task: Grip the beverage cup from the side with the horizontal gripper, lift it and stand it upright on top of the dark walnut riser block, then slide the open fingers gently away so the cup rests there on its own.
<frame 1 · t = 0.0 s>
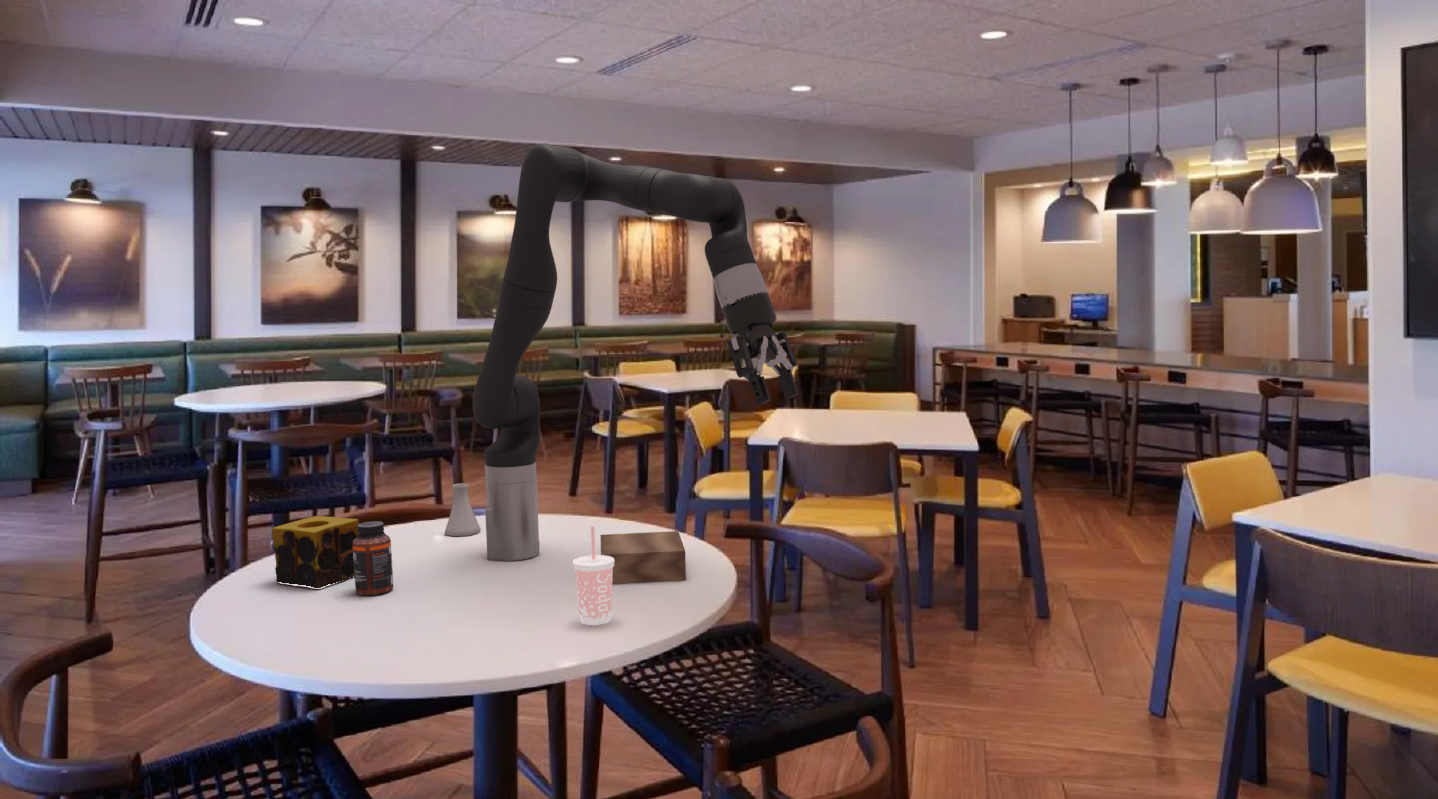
hand: (778, 399, 150), 31 cm above the table, tool tilted 20°, fingers open, 8 cm apart
beverage cup: (595, 621, 146), on the table
yellow tissue box cover: (320, 581, 170), on the table
flask: (462, 534, 202), on the table
supplement bottle: (374, 592, 163), on the table
walnut riser block: (642, 570, 172), on the table
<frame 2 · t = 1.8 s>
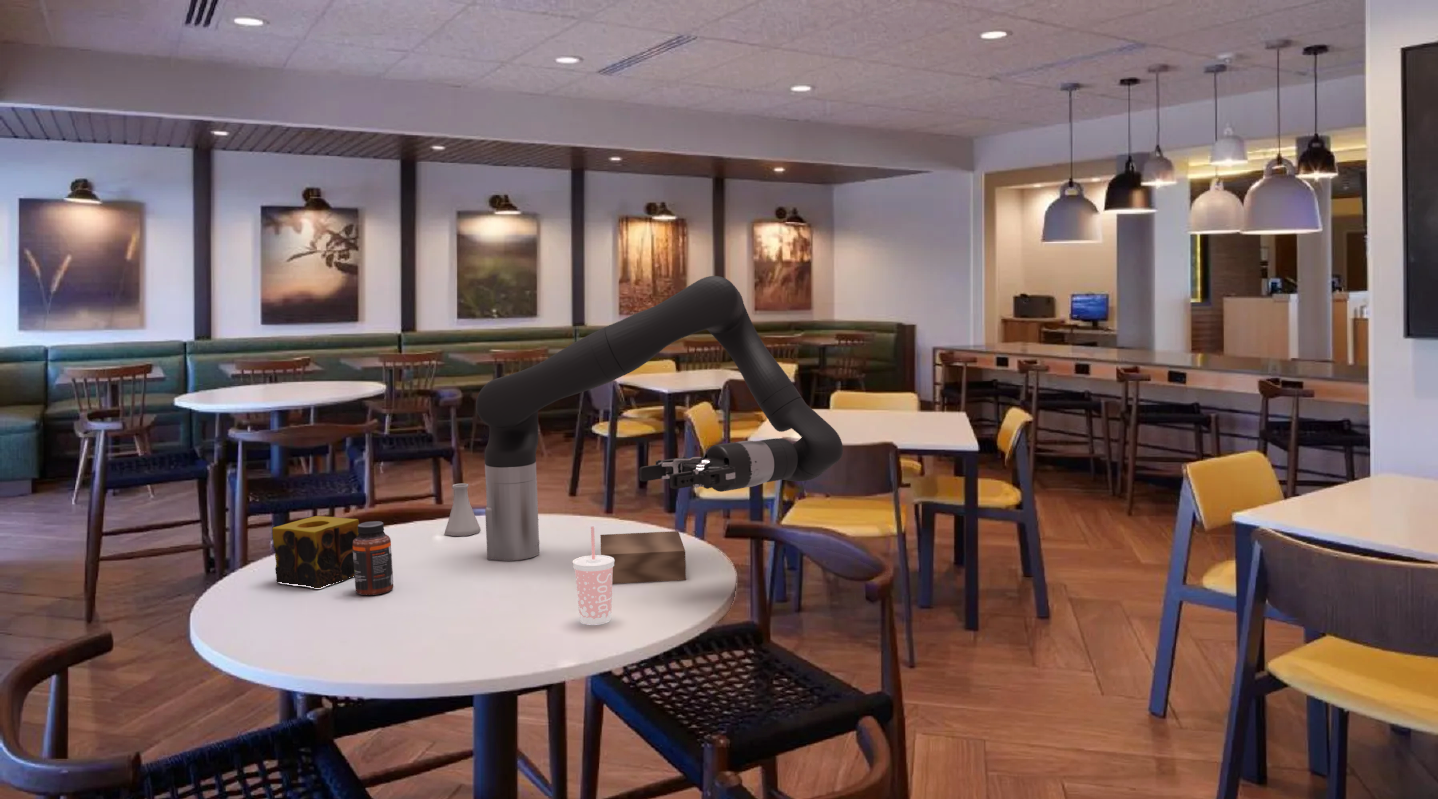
hand: (655, 478, 151), 20 cm above the table, tool horizontal, fingers open, 8 cm apart
nothing on the table moved.
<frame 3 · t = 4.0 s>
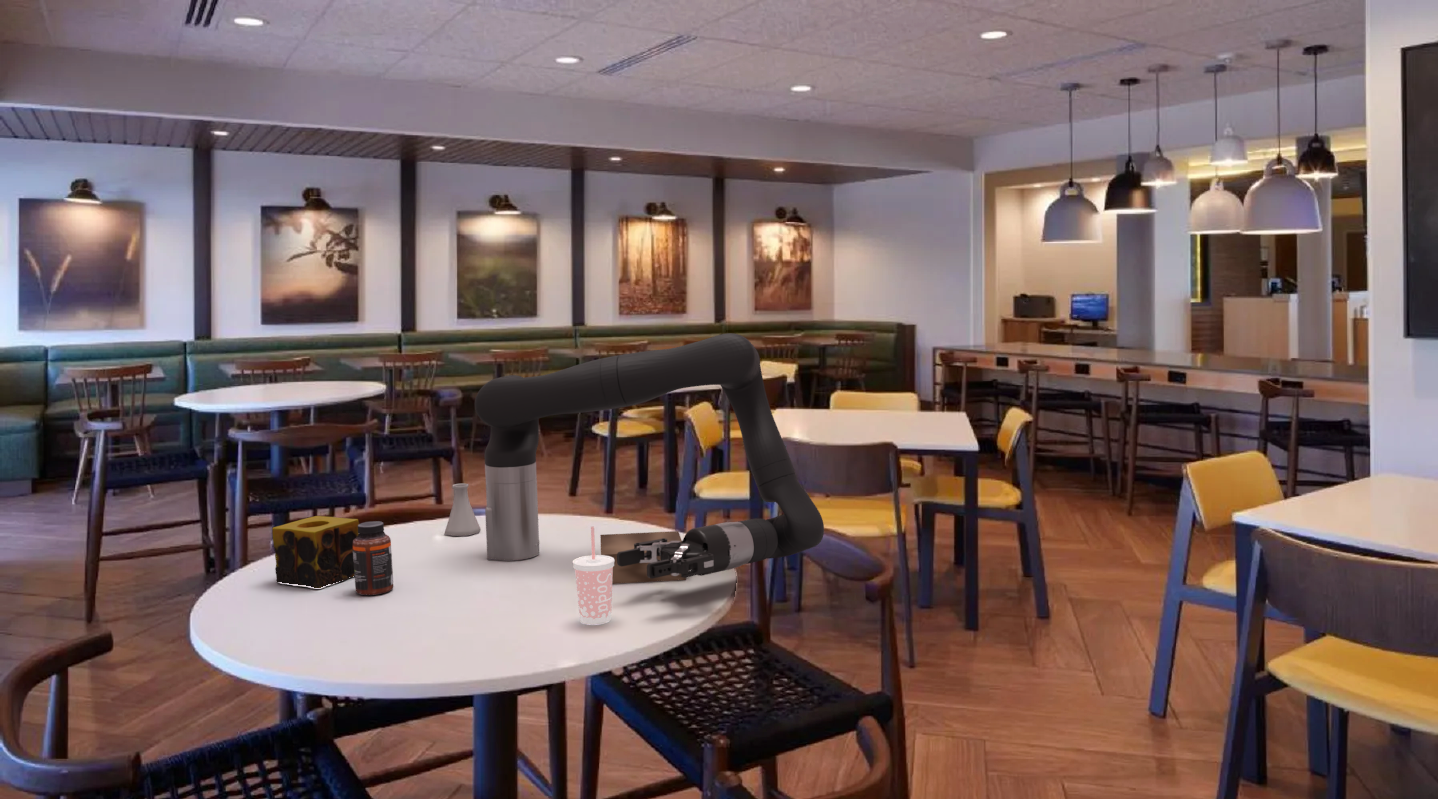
hand: (632, 565, 149), 7 cm above the table, tool horizontal, fingers open, 8 cm apart
nothing on the table moved.
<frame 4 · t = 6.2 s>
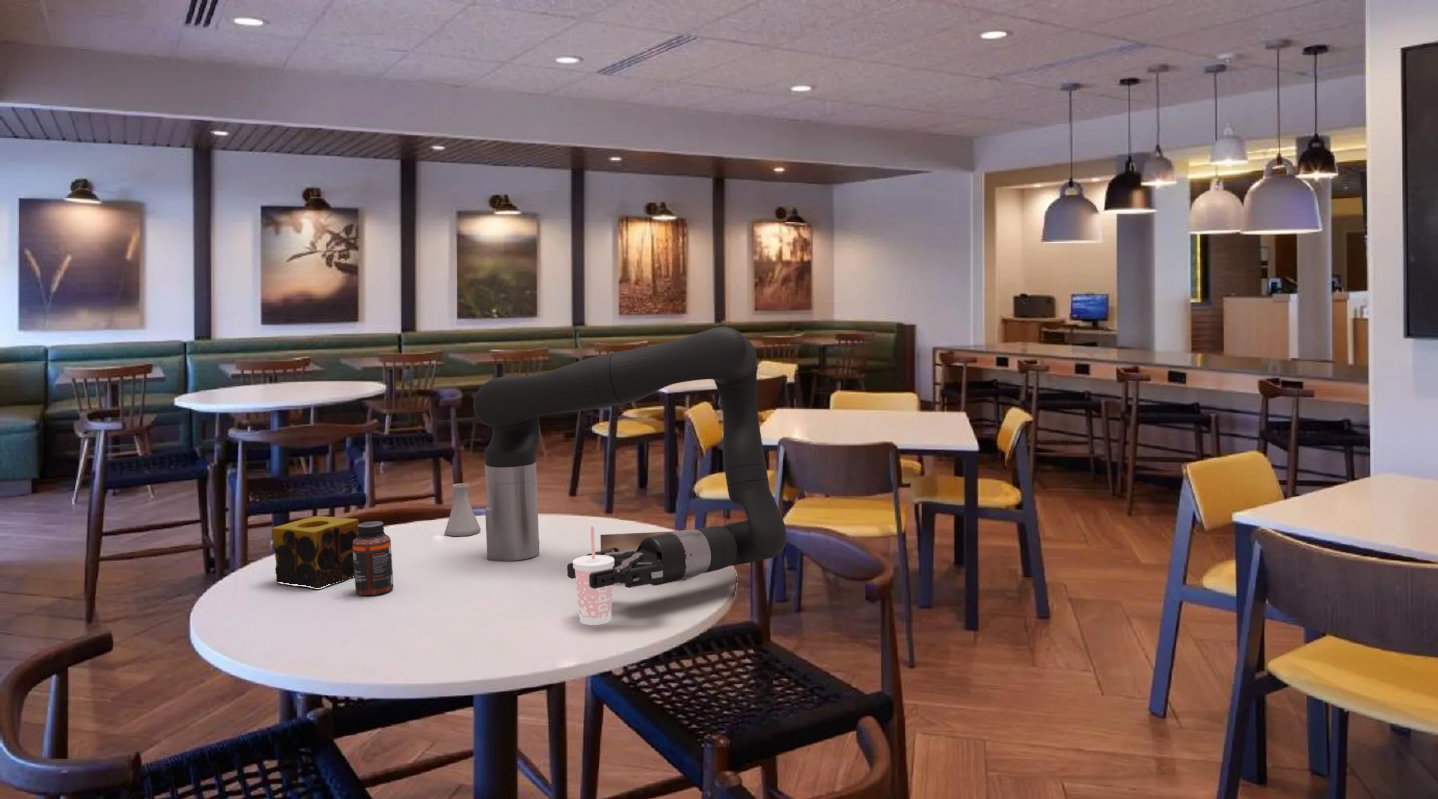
hand: (579, 576, 144), 7 cm above the table, tool horizontal, fingers closed on beverage cup, 6 cm apart
beverage cup: (595, 621, 146), on the table, touching gripper
everything else where it was.
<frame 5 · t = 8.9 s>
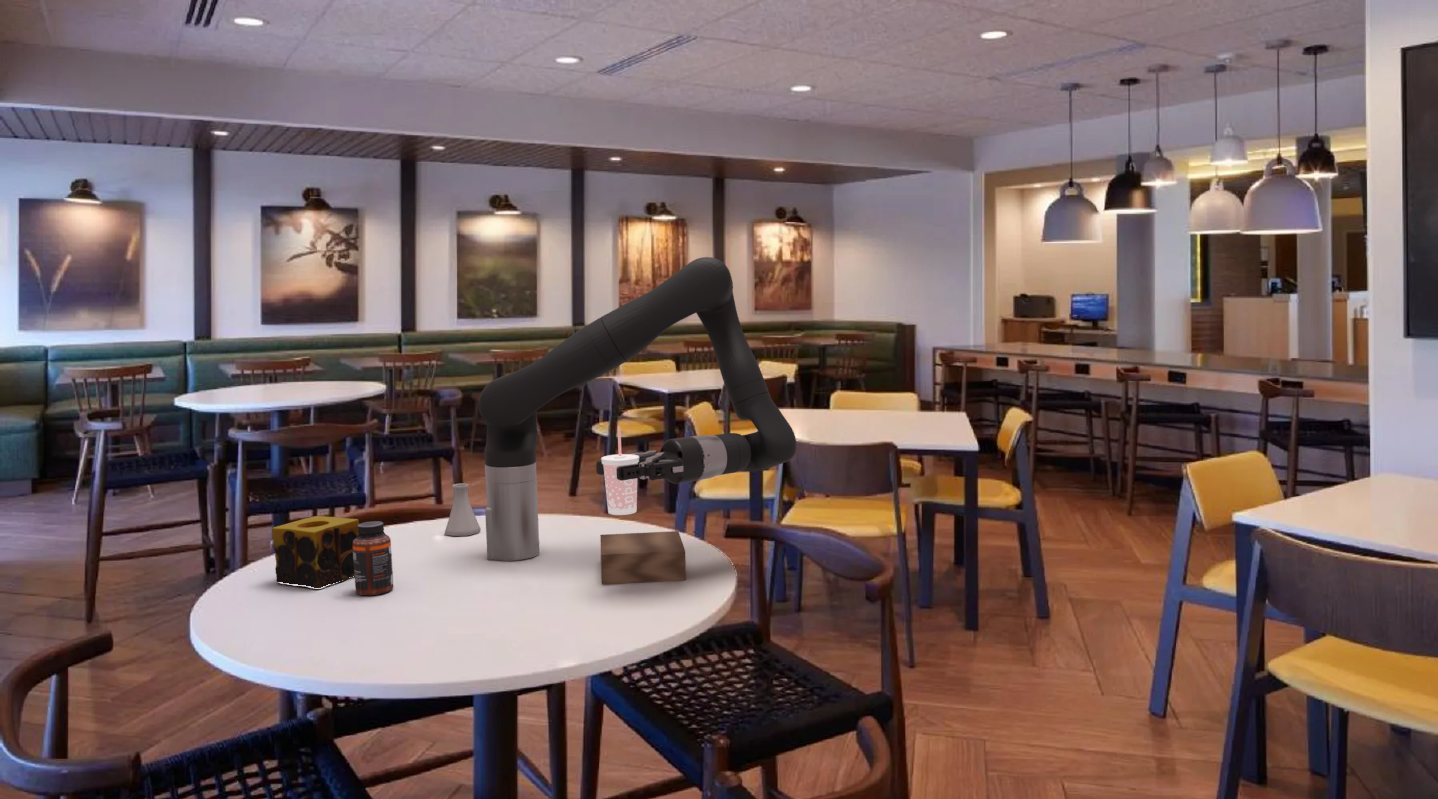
hand: (607, 471, 158), 20 cm above the table, tool horizontal, fingers closed on beverage cup, 6 cm apart
beverage cup: (622, 513, 161), point 12 cm above the table, touching gripper
everything else where it was.
when the fingers open (13 cm above the table, at t = 11.7 s): beverage cup drops 1 cm, resting on walnut riser block.
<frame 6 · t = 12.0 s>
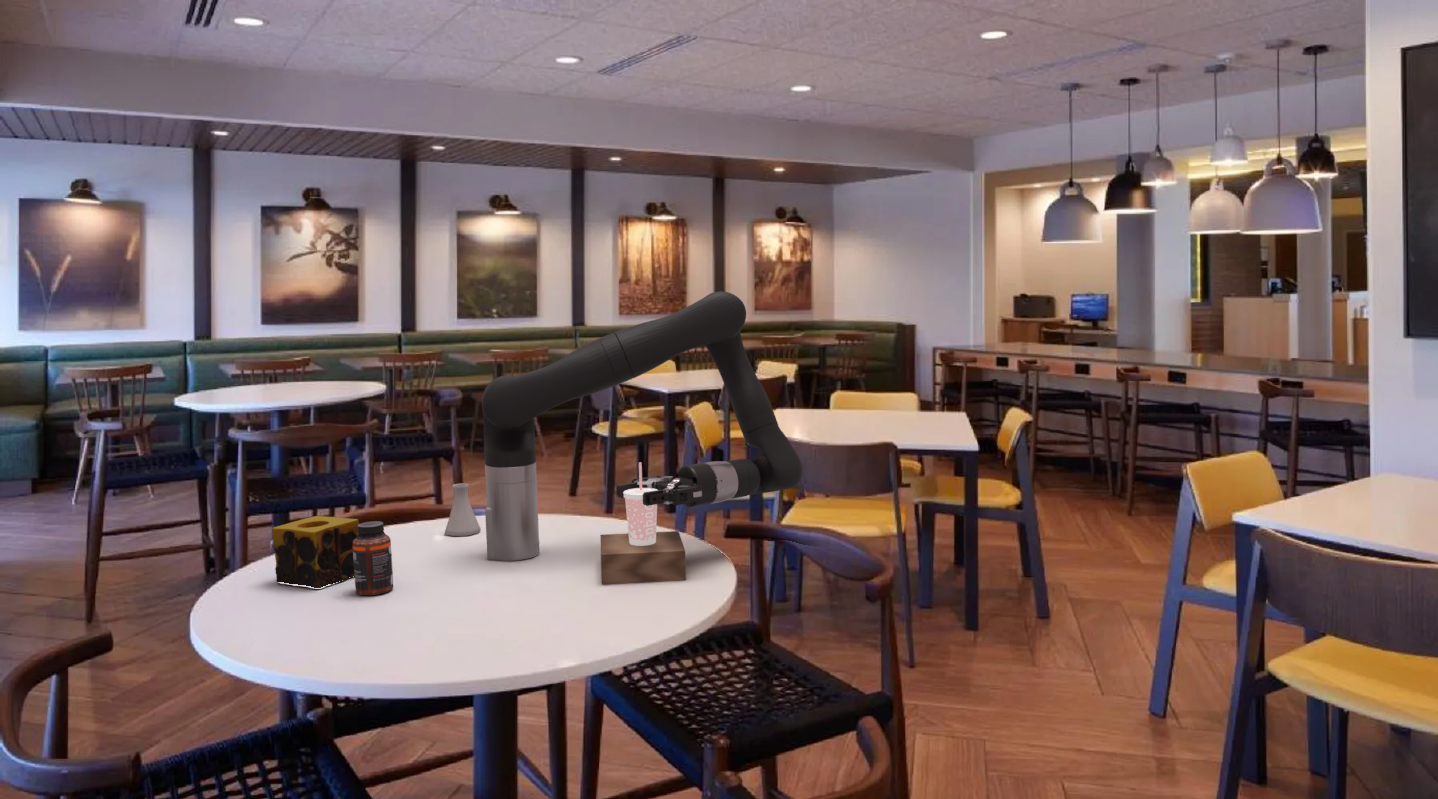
hand: (630, 495, 169), 13 cm above the table, tool horizontal, fingers open, 8 cm apart
beverage cup: (642, 543, 171), point 5 cm above the table, touching walnut riser block
everything else where it was.
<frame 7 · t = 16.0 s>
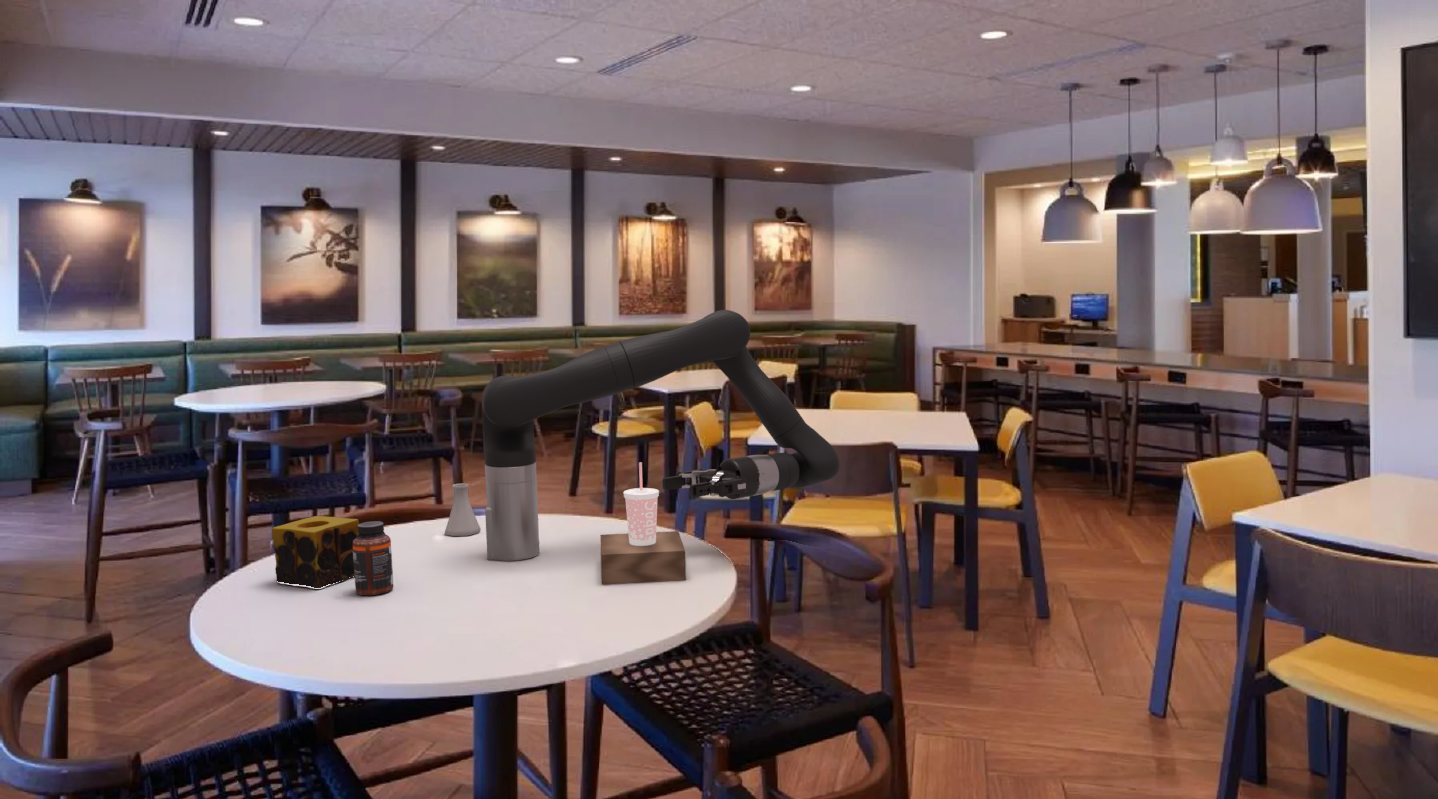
hand: (677, 487, 175), 14 cm above the table, tool horizontal, fingers open, 8 cm apart
nothing on the table moved.
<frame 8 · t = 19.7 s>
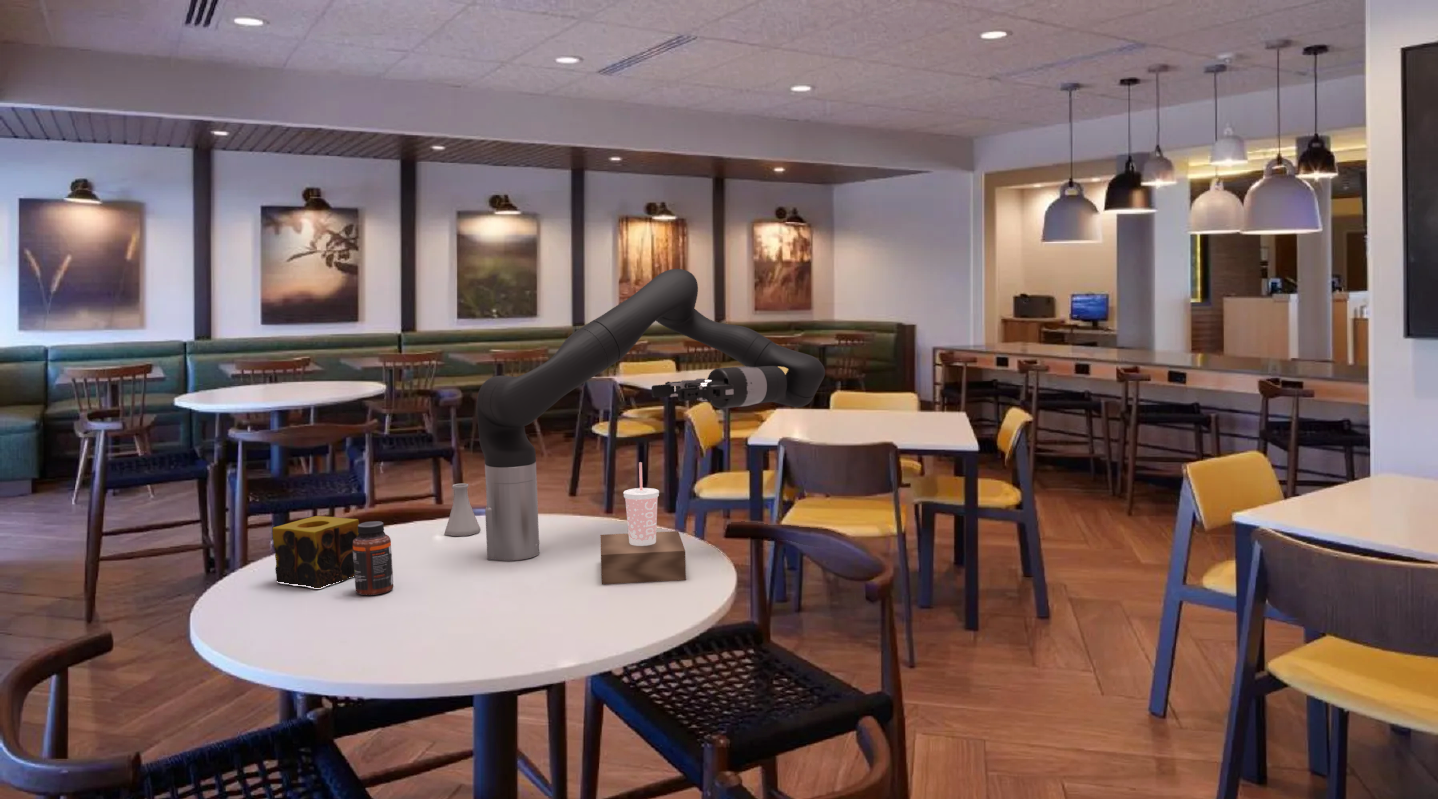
hand: (665, 393, 177), 30 cm above the table, tool horizontal, fingers open, 8 cm apart
nothing on the table moved.
at the end: beverage cup inside the target area on the walnut riser block (0.2 cm from its centre), point 4.8 cm above the walnut riser block's base; beverage cup tilted 0°; the gripper is holding nothing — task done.
